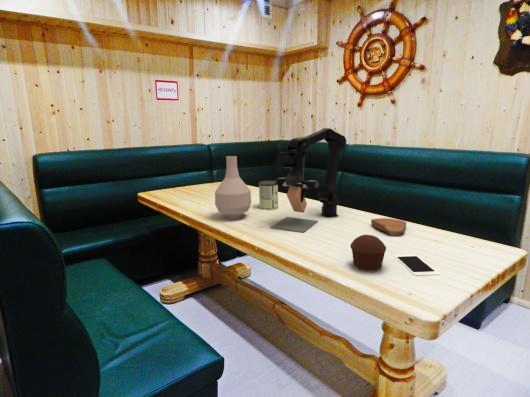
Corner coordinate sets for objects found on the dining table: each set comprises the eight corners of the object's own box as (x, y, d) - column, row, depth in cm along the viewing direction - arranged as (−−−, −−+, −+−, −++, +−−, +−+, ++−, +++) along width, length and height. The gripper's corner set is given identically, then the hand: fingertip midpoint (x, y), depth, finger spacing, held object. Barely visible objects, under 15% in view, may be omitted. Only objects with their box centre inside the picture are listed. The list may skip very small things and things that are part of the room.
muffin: (391, 272, 112) (393, 242, 110) (356, 274, 111) (358, 243, 109) (376, 257, 124) (378, 230, 121) (345, 259, 123) (346, 231, 120)
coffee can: (260, 205, 199) (259, 180, 196) (278, 205, 198) (278, 180, 195) (258, 210, 189) (257, 184, 186) (277, 210, 188) (277, 184, 185)
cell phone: (415, 277, 109) (415, 275, 109) (393, 257, 125) (393, 255, 125) (439, 276, 110) (439, 274, 110) (415, 256, 125) (415, 254, 125)
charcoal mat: (286, 217, 174) (286, 216, 174) (318, 221, 166) (318, 220, 166) (270, 228, 158) (270, 227, 158) (303, 232, 151) (303, 231, 151)
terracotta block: (297, 202, 169) (290, 186, 159) (307, 203, 166) (300, 187, 157) (293, 211, 166) (286, 195, 156) (303, 212, 164) (297, 196, 154)
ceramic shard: (368, 222, 147) (371, 217, 161) (369, 237, 147) (372, 232, 161) (406, 220, 142) (405, 216, 156) (408, 236, 142) (407, 230, 156)
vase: (209, 216, 179) (206, 156, 172) (239, 210, 189) (237, 153, 182) (227, 224, 165) (224, 159, 158) (258, 217, 175) (257, 156, 168)
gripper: (270, 167, 155) (269, 202, 158) (311, 170, 146) (309, 207, 149) (281, 165, 164) (280, 198, 167) (319, 168, 156) (318, 202, 159)
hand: (296, 201), depth 161 cm, fingers closed on terracotta block, 5 cm apart
